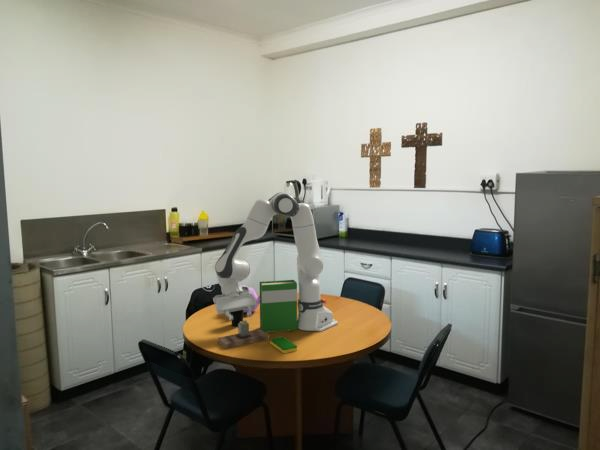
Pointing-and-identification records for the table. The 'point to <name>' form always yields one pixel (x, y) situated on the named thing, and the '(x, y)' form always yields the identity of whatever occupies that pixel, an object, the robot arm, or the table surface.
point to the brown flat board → (236, 341)
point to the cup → (237, 317)
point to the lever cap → (243, 329)
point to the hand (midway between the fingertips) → (240, 317)
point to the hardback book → (278, 305)
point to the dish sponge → (283, 344)
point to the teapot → (255, 299)
